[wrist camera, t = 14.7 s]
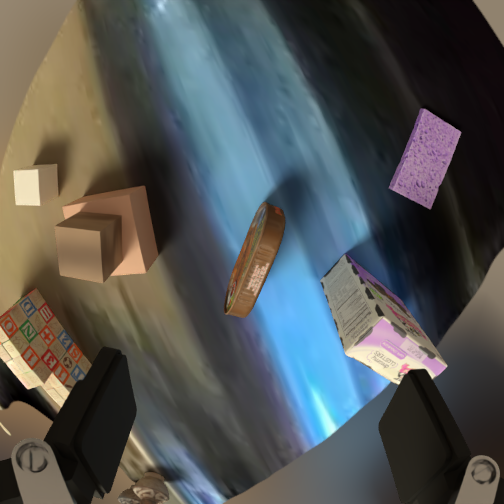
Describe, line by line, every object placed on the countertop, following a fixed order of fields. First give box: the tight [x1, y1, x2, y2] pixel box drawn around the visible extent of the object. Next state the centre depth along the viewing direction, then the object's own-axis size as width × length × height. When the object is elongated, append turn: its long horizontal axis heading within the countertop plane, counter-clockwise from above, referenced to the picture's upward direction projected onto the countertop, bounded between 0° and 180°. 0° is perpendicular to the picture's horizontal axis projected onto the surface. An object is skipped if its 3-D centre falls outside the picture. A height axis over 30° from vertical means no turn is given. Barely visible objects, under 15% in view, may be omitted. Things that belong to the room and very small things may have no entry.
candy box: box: [320, 254, 447, 386], centre depth 38 cm, size 14×6×16 cm, turn 53°
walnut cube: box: [55, 211, 123, 283], centre depth 34 cm, size 6×6×6 cm
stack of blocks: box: [0, 288, 92, 407], centre depth 45 cm, size 21×6×12 cm, turn 25°
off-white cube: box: [14, 164, 59, 206], centre depth 38 cm, size 5×5×5 cm
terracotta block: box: [63, 186, 158, 276], centre depth 40 cm, size 10×10×6 cm
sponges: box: [389, 108, 461, 209], centre depth 38 cm, size 7×13×2 cm, turn 160°
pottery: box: [118, 472, 169, 504], centre depth 66 cm, size 11×25×12 cm, turn 148°
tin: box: [224, 202, 285, 318], centre depth 40 cm, size 15×3×8 cm, turn 159°
